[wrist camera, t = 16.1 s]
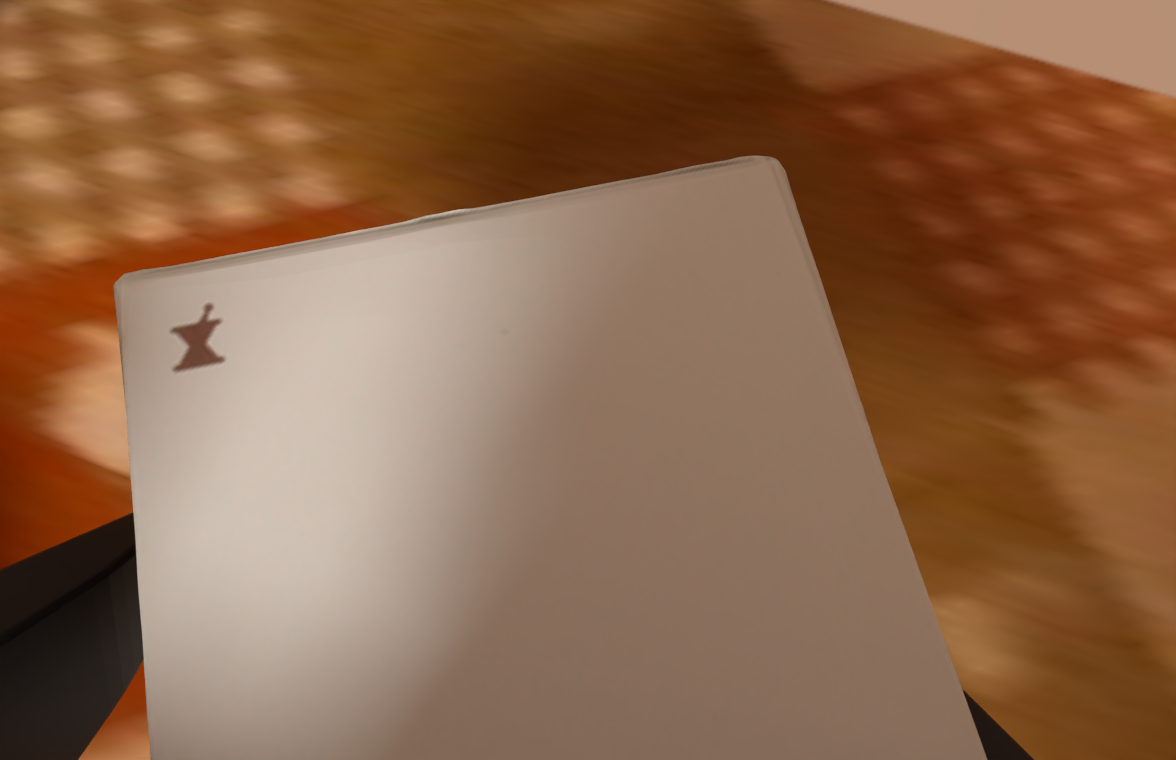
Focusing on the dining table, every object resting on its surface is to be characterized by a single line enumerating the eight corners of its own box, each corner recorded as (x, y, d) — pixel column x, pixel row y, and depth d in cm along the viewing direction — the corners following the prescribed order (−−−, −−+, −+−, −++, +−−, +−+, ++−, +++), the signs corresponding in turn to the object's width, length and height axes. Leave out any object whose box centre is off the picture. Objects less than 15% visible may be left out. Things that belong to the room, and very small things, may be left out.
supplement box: (425, 765, 17) (123, 1157, 5) (379, 465, 19) (85, 248, 7) (718, 688, 18) (1049, 874, 6) (645, 408, 20) (783, 124, 8)
